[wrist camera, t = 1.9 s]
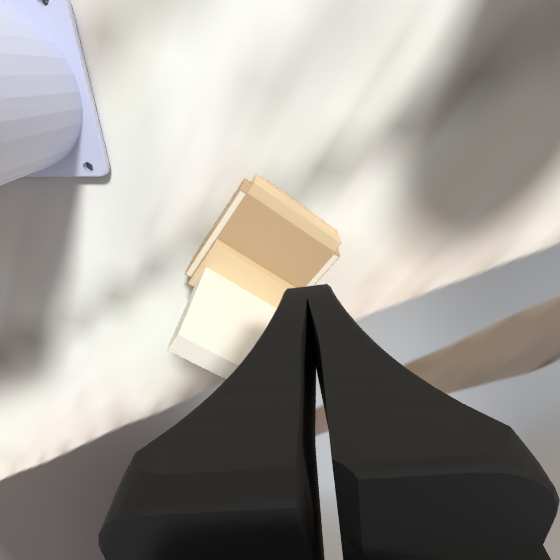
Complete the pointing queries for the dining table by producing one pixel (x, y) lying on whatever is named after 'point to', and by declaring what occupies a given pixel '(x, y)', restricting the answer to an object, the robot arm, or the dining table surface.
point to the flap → (226, 310)
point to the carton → (274, 234)
